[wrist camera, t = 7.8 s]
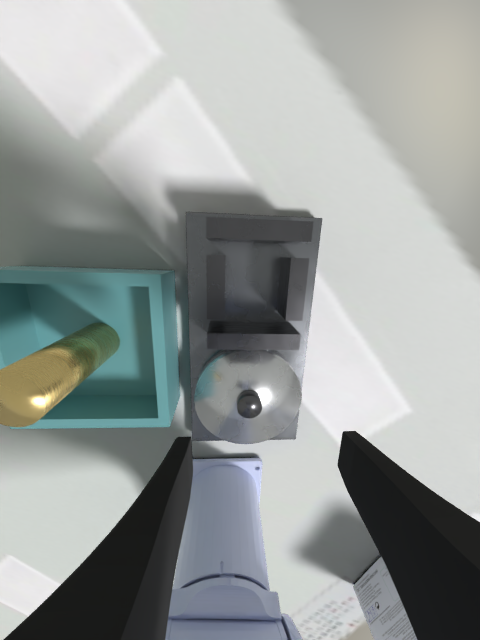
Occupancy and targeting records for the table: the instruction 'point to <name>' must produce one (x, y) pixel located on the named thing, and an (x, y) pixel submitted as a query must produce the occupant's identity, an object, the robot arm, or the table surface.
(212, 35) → the table surface
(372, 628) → the ink cartridge box
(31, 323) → the tray
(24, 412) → the pin
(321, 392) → the table surface
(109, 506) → the table surface
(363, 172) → the table surface
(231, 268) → the plate
